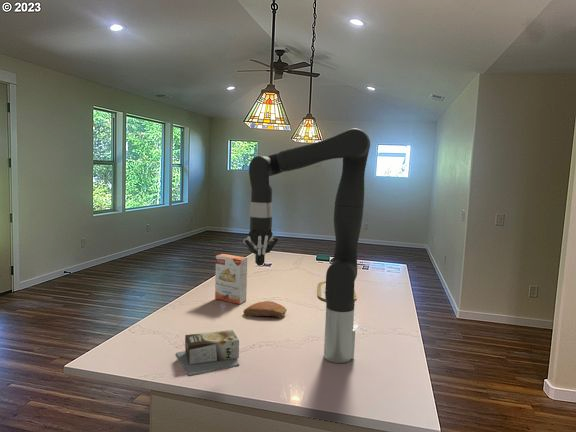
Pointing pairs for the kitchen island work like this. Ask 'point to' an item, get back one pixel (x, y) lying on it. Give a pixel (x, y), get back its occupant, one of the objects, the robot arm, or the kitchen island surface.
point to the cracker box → (231, 278)
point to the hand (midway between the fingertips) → (259, 265)
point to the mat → (204, 365)
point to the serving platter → (320, 290)
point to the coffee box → (211, 346)
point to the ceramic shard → (265, 309)
